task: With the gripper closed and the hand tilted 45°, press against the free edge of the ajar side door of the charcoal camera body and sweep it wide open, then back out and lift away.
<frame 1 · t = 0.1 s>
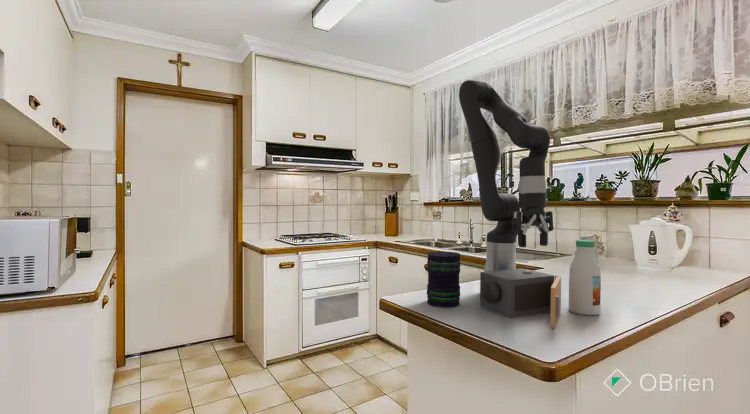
hand: (533, 246, 113), 17 cm above the countertop, tool pointing down, fingers open, 8 cm apart
plastic bottle: (586, 303, 115), on the countertop
camera body: (516, 308, 108), on the countertop
milk bottle: (584, 312, 105), on the countertop
storage jar: (443, 303, 114), on the countertop
side door: (556, 299, 98), point 5 cm above the countertop, hinge at 35.0°
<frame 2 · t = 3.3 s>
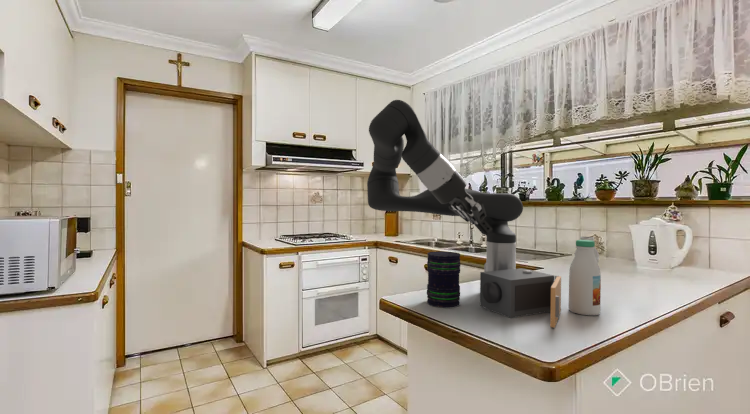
hand: (488, 232, 88), 23 cm above the countertop, tool tilted 45°, fingers closed
nothing on the countertop moved.
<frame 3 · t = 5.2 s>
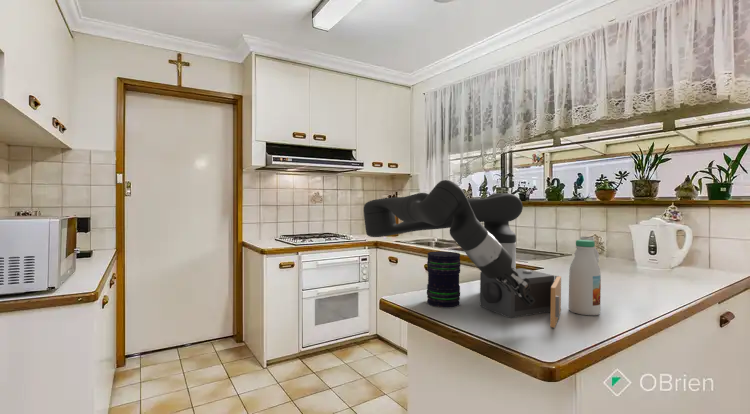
hand: (531, 303, 91), 6 cm above the countertop, tool tilted 45°, fingers closed
nothing on the countertop moved.
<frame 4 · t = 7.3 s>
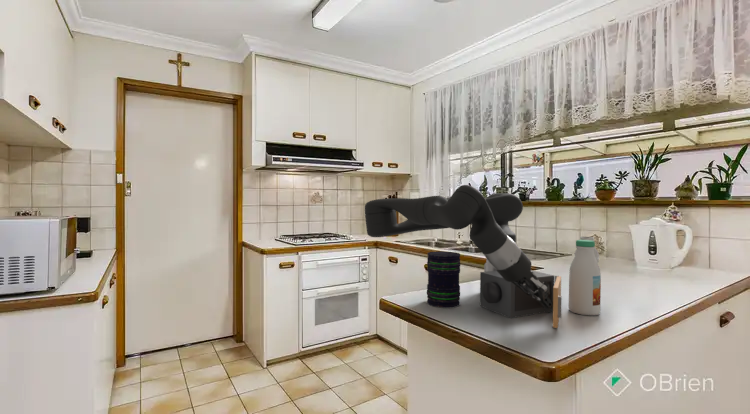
hand: (549, 306, 92), 5 cm above the countertop, tool tilted 45°, fingers closed
side door: (557, 299, 98), point 5 cm above the countertop, hinge at 37.0°, touching gripper
everything else where it was.
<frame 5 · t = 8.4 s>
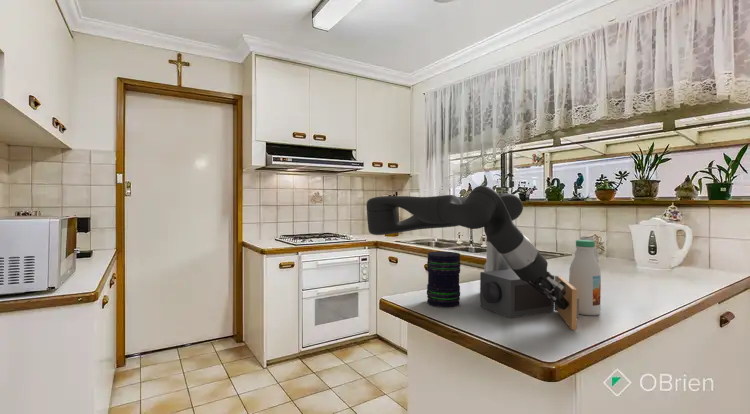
hand: (564, 306, 93), 5 cm above the countertop, tool tilted 45°, fingers closed
side door: (565, 300, 98), point 5 cm above the countertop, hinge at 51.6°, touching gripper
everything else where it was.
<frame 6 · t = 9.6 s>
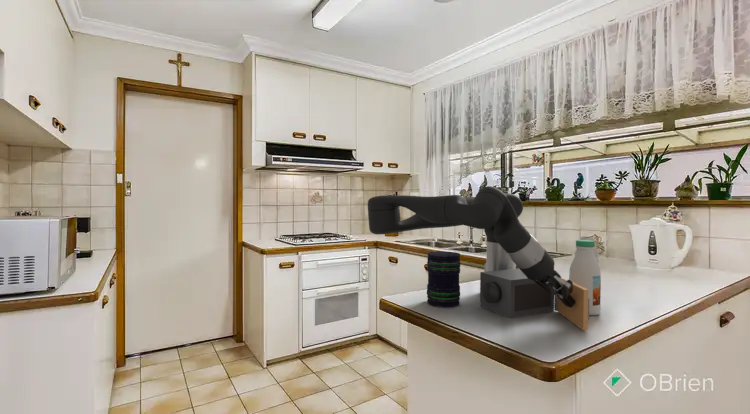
hand: (571, 304, 94), 5 cm above the countertop, tool tilted 45°, fingers closed
side door: (570, 300, 97), point 5 cm above the countertop, hinge at 60.6°, touching gripper
everything else where it was.
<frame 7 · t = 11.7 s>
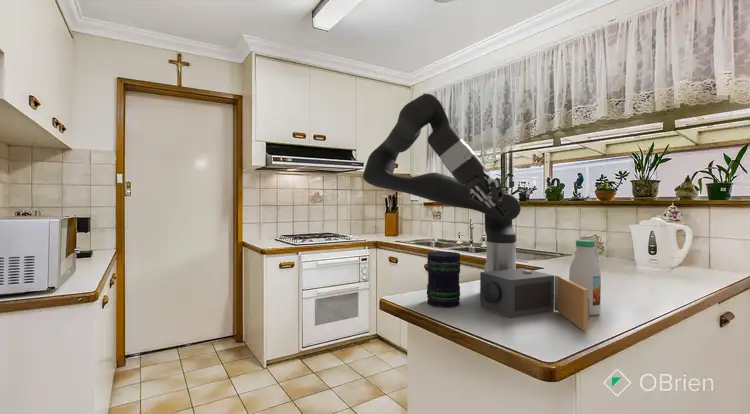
hand: (505, 216, 94), 27 cm above the countertop, tool tilted 40°, fingers closed
side door: (570, 300, 97), point 5 cm above the countertop, hinge at 60.7°
everything else where it was.
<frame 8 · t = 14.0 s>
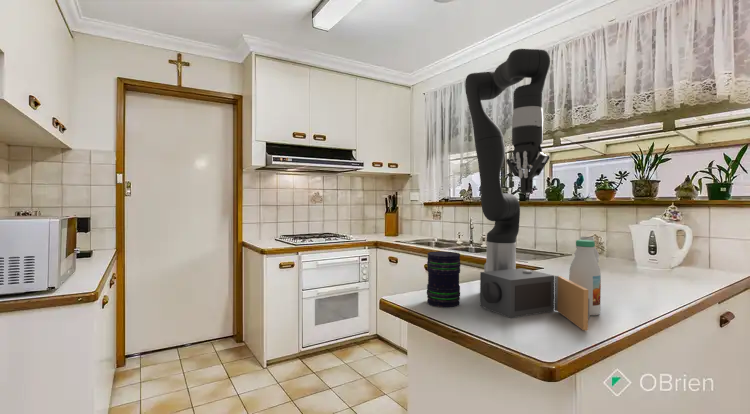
hand: (526, 192, 100), 33 cm above the countertop, tool pointing down, fingers closed
nothing on the countertop moved.
at the end: side door at +61° (first picture: +35°) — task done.
